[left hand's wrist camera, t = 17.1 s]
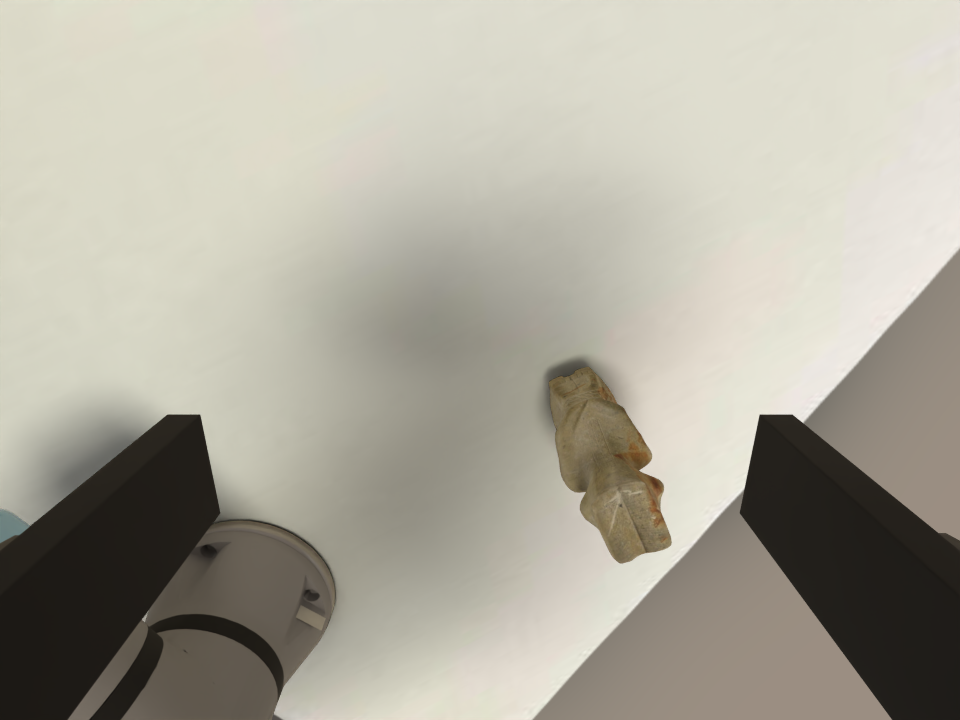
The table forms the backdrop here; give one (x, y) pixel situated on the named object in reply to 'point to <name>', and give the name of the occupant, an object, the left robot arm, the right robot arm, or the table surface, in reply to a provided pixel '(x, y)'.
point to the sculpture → (607, 466)
